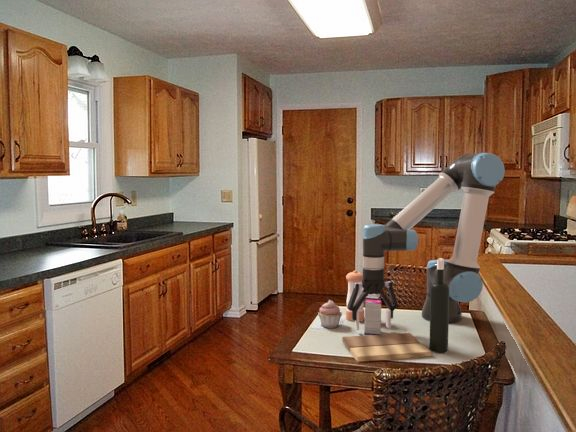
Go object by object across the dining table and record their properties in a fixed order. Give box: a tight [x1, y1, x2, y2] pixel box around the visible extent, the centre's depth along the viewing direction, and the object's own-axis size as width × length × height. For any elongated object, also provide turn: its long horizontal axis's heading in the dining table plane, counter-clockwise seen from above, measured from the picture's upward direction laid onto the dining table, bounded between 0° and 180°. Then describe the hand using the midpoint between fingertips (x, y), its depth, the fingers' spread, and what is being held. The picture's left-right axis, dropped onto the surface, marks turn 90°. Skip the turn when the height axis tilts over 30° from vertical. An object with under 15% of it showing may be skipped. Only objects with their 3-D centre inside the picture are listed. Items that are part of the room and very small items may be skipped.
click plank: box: [341, 332, 420, 353], centre depth 172 cm, size 24×8×2 cm, turn 100°
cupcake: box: [317, 299, 343, 329], centre depth 193 cm, size 9×9×10 cm
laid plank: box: [349, 343, 432, 363], centre depth 163 cm, size 24×8×2 cm, turn 100°
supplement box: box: [363, 299, 382, 336], centre depth 185 cm, size 6×6×12 cm
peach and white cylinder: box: [345, 270, 365, 322], centre depth 202 cm, size 7×7×19 cm
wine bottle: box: [428, 257, 449, 354], centre depth 166 cm, size 6×6×30 cm
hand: (372, 328), depth 185 cm, fingers open, 11 cm apart
